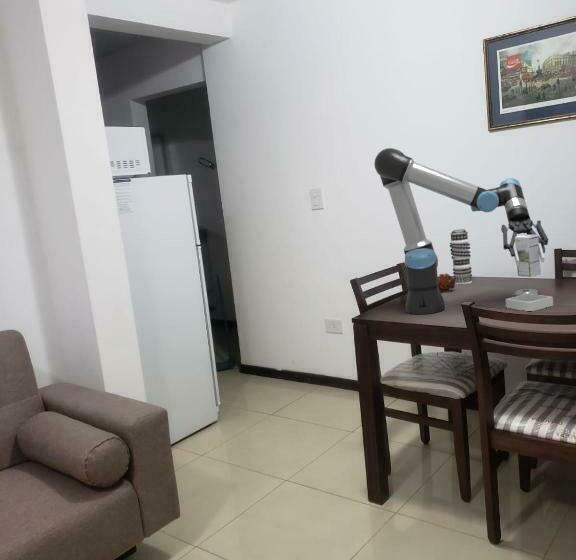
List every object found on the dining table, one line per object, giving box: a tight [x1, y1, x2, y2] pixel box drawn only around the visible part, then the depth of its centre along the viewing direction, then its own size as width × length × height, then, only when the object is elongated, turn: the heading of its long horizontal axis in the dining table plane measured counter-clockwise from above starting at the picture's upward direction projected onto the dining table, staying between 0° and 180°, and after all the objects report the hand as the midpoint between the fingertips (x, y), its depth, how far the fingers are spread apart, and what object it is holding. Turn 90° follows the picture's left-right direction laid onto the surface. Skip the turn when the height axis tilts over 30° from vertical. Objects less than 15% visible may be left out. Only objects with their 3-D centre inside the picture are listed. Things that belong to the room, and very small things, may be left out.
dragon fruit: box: [438, 273, 457, 293], centre depth 249 cm, size 8×8×12 cm
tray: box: [505, 293, 554, 312], centre depth 202 cm, size 11×11×3 cm
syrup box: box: [514, 234, 542, 278], centre depth 199 cm, size 6×6×14 cm
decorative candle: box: [449, 228, 473, 285], centre depth 260 cm, size 9×9×25 cm
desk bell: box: [512, 288, 541, 297], centre depth 217 cm, size 10×10×3 cm
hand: (530, 261), depth 196 cm, fingers closed on syrup box, 8 cm apart
